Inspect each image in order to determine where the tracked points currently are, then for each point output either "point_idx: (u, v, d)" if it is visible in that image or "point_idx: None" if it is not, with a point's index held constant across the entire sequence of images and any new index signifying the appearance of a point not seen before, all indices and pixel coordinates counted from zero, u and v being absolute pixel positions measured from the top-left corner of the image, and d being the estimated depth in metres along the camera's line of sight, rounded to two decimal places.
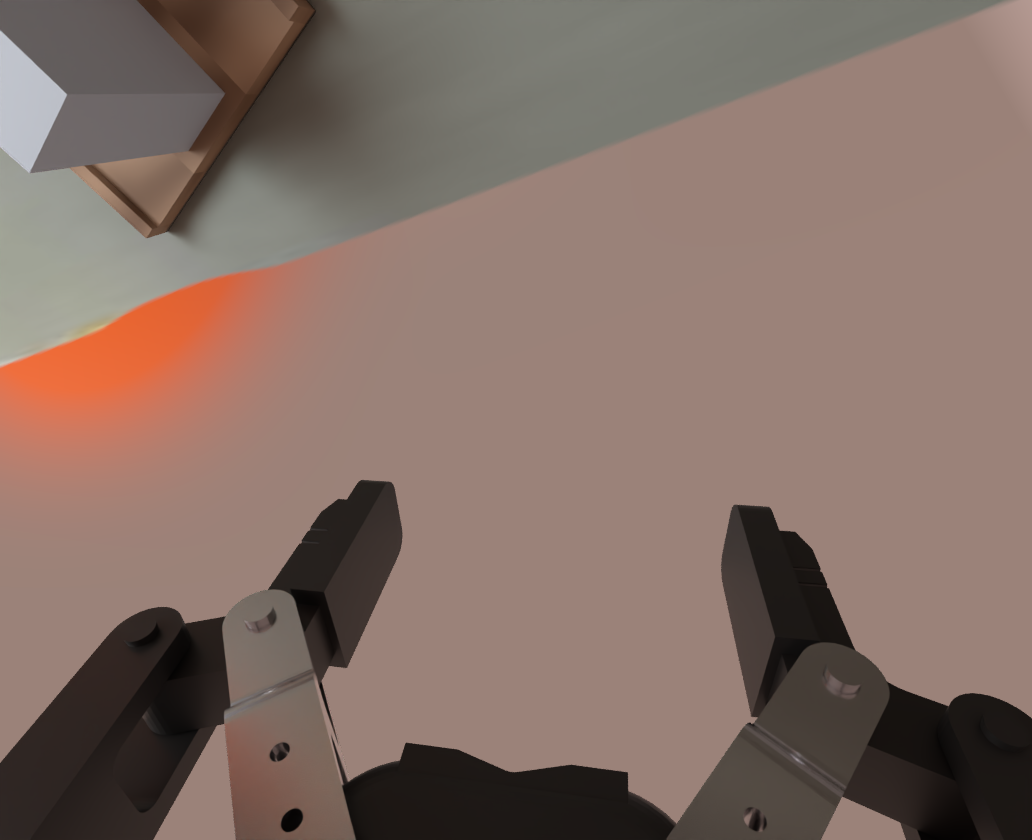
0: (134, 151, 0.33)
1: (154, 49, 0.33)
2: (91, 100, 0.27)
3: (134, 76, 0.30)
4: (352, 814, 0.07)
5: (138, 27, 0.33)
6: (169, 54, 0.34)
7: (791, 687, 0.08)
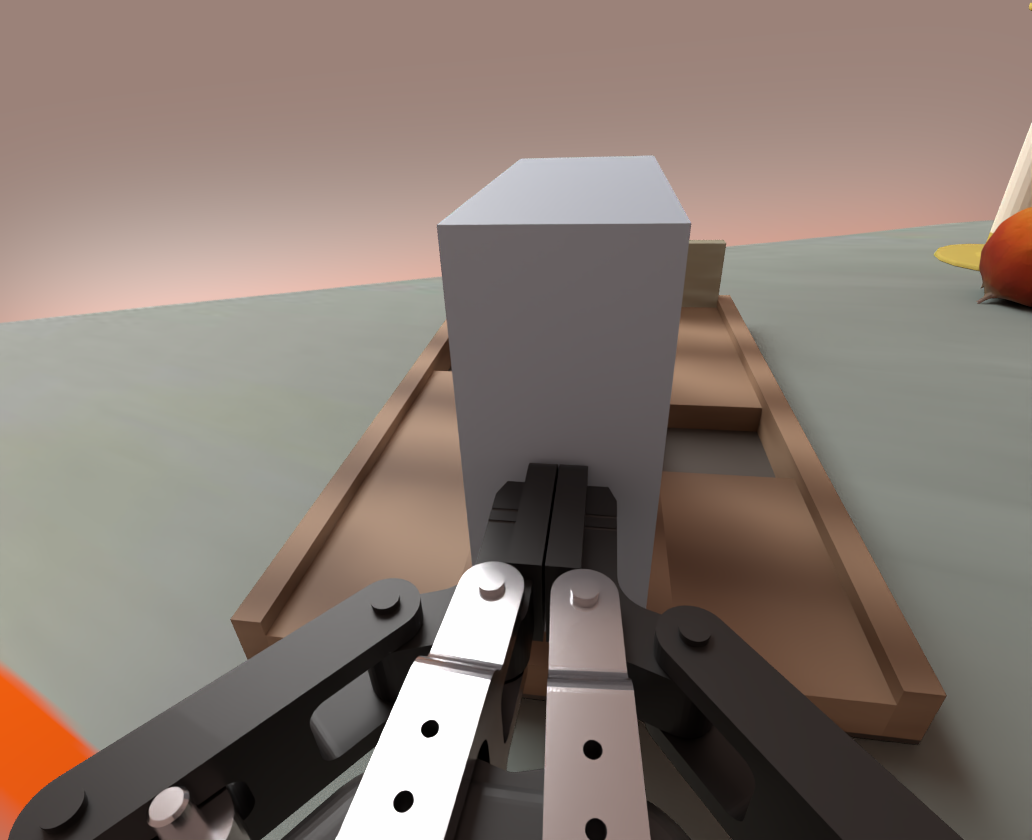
0: (487, 489, 0.15)
1: None
2: (663, 302, 0.12)
3: None
4: (456, 835, 0.07)
5: None
6: None
7: (557, 625, 0.09)
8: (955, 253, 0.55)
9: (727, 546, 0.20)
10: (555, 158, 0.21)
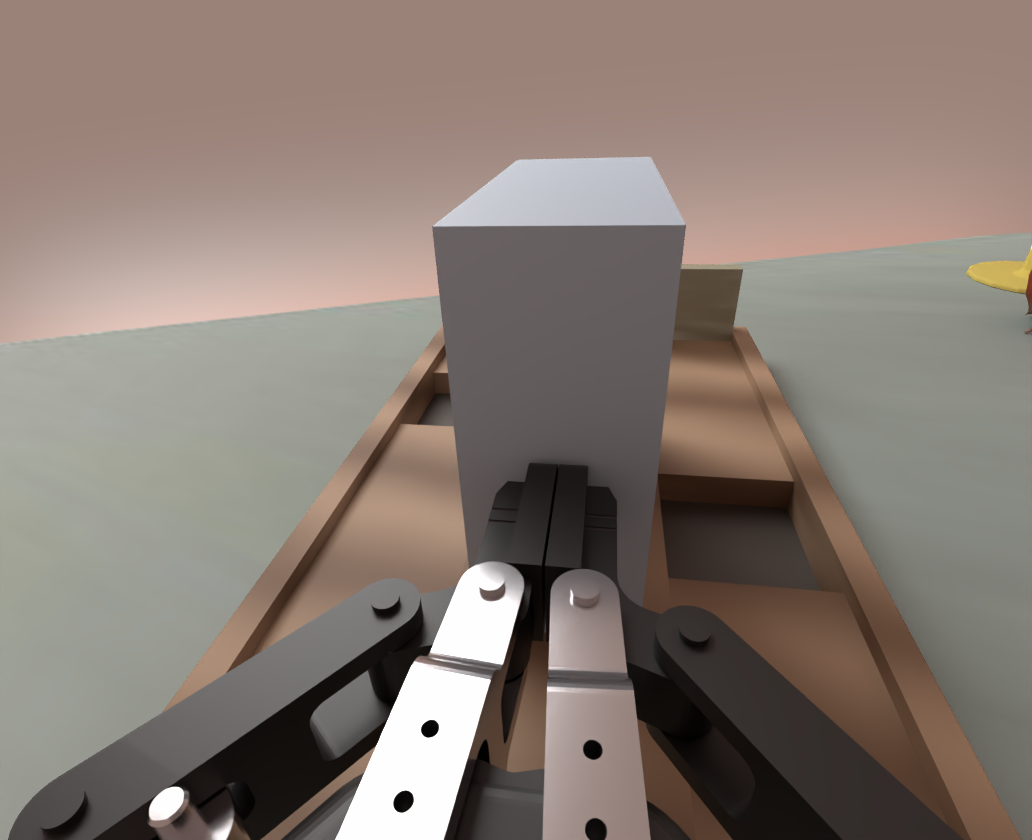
0: (483, 490, 0.15)
1: None
2: (658, 303, 0.12)
3: None
4: (456, 835, 0.07)
5: None
6: None
7: (557, 625, 0.09)
8: (990, 272, 0.50)
9: None
10: (552, 159, 0.21)
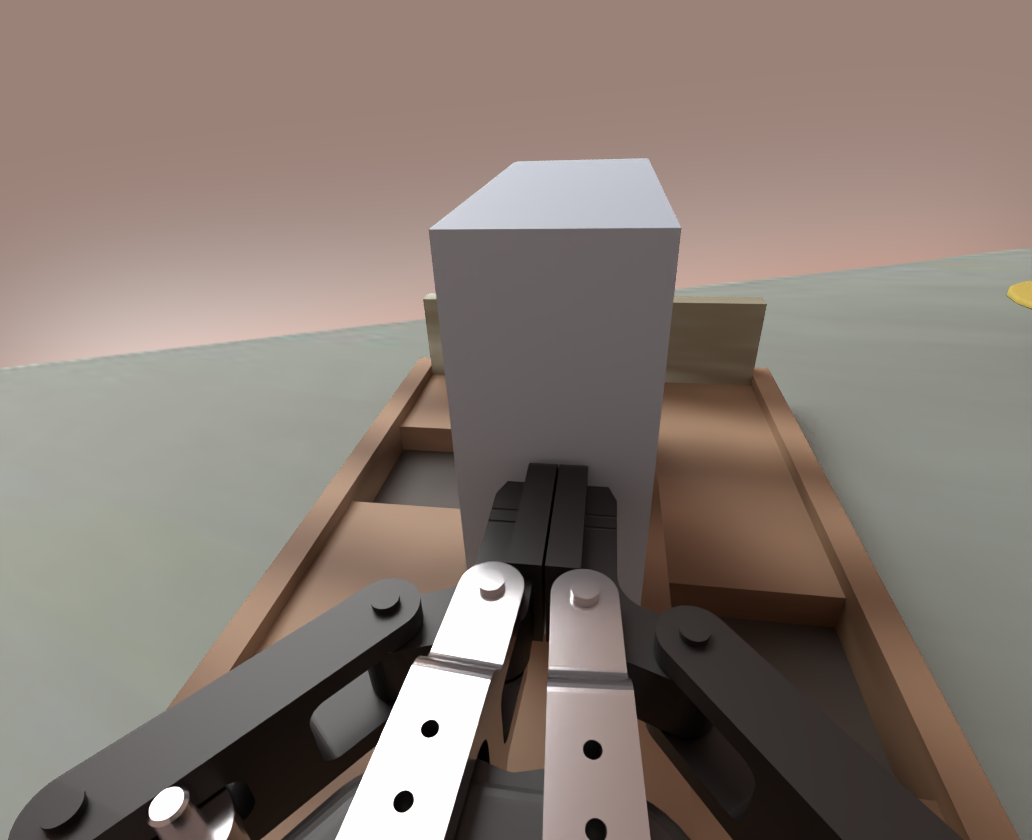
0: (480, 491, 0.15)
1: None
2: (654, 306, 0.12)
3: None
4: (456, 835, 0.07)
5: None
6: None
7: (557, 625, 0.09)
8: None
9: None
10: (550, 161, 0.21)
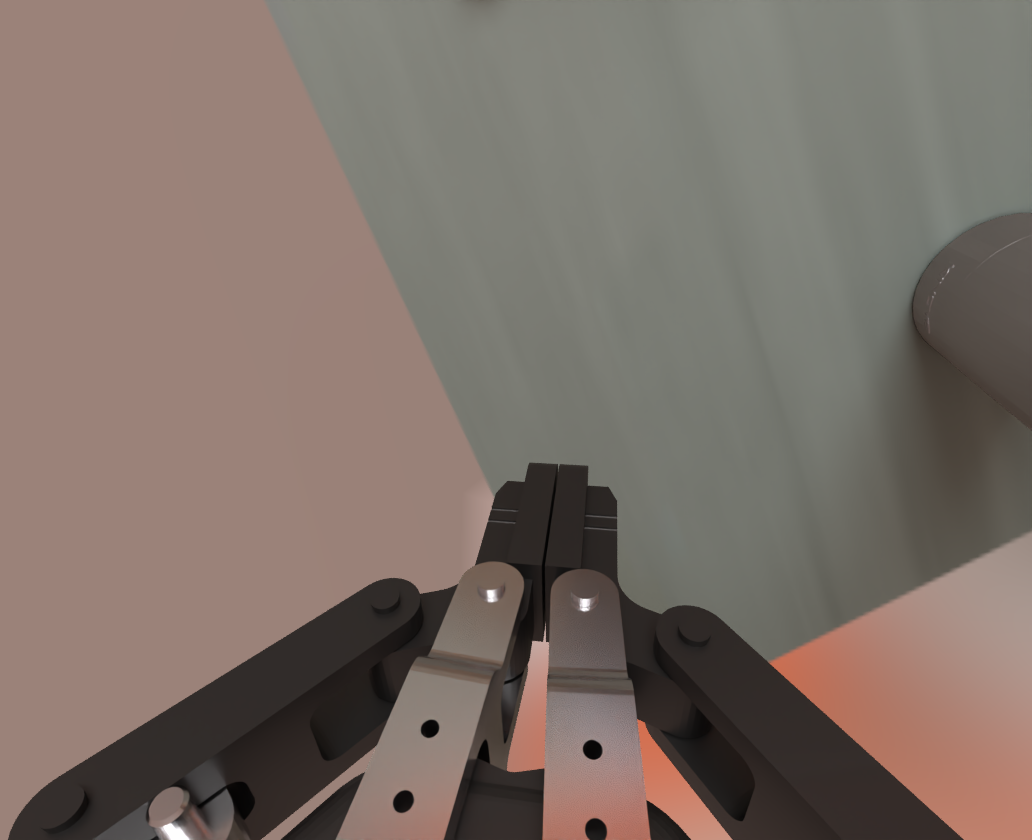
0: None
1: None
2: None
3: None
4: (456, 835, 0.07)
5: None
6: None
7: (557, 625, 0.09)
8: None
9: None
10: None
